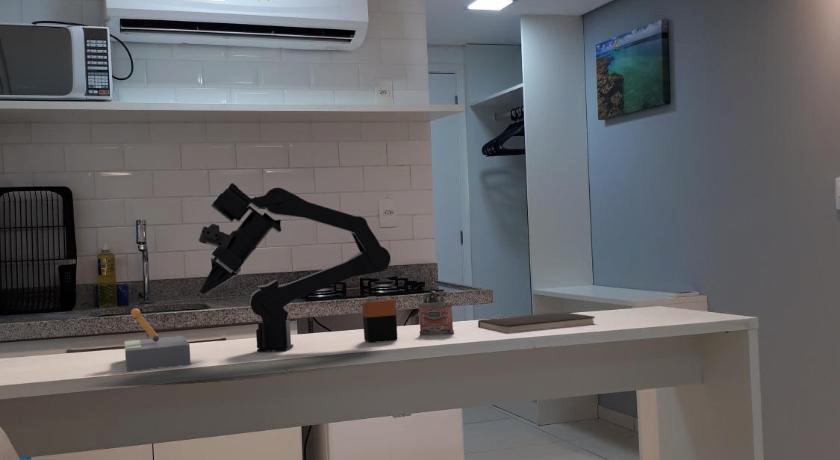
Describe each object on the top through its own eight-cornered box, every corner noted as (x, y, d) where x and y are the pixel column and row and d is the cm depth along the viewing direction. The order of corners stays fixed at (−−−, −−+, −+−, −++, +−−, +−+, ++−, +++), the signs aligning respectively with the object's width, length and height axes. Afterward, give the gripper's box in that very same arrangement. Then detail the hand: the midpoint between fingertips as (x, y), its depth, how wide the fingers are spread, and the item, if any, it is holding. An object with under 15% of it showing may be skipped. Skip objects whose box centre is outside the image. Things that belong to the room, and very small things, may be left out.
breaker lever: (160, 336, 168) (136, 306, 167) (161, 338, 165) (137, 307, 163) (153, 342, 168) (129, 312, 166) (154, 343, 164) (129, 313, 163)
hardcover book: (595, 326, 188) (594, 316, 188) (506, 335, 181) (506, 325, 181) (561, 320, 204) (560, 311, 204) (478, 329, 196) (477, 319, 196)
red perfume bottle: (418, 335, 185) (415, 292, 185) (421, 333, 188) (419, 291, 188) (452, 334, 183) (449, 291, 183) (455, 332, 187) (452, 290, 187)
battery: (363, 341, 181) (361, 296, 181) (392, 338, 183) (390, 294, 183) (368, 343, 177) (366, 298, 177) (398, 340, 179) (395, 295, 179)
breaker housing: (183, 353, 177) (182, 334, 177) (190, 364, 160) (189, 343, 160) (125, 359, 172) (124, 340, 172) (126, 371, 155) (125, 349, 156)
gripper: (219, 217, 182) (174, 271, 178) (218, 207, 164) (167, 267, 160) (258, 248, 183) (214, 302, 180) (261, 241, 165) (212, 301, 161)
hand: (201, 293), depth 170 cm, fingers closed
